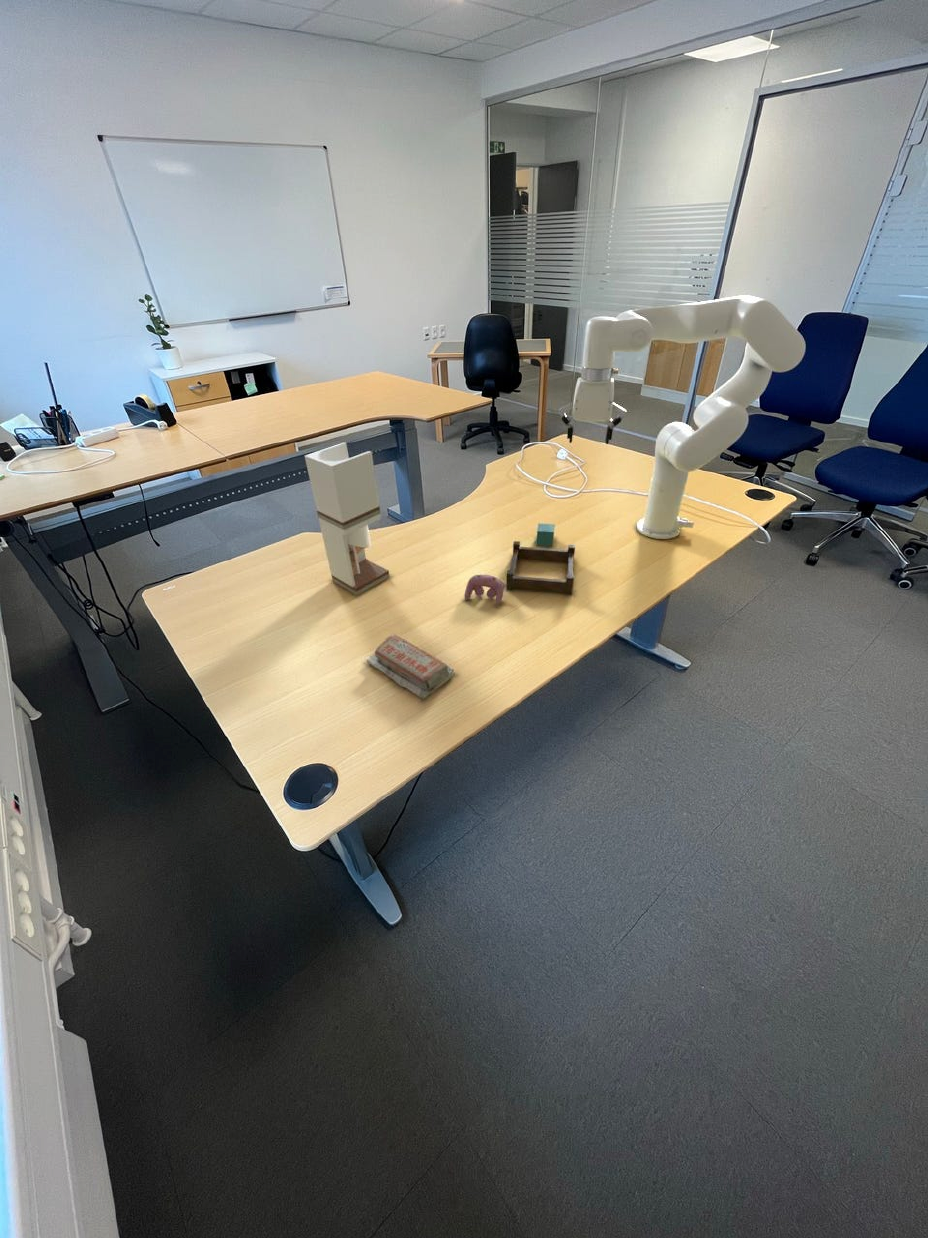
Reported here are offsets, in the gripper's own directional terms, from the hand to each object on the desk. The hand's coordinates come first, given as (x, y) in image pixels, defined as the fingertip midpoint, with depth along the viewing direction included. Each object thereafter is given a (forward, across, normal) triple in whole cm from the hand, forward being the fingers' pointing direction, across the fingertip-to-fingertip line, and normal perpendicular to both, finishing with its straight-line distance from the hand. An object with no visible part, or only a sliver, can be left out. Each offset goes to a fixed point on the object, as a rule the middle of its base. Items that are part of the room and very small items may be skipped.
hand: (588, 441), depth 141 cm
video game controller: (+28, +23, +37) cm, 52 cm away
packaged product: (+28, +35, +66) cm, 80 cm away
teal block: (+28, +10, +6) cm, 31 cm away
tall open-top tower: (+28, +58, +33) cm, 73 cm away
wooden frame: (+28, +10, +24) cm, 38 cm away
